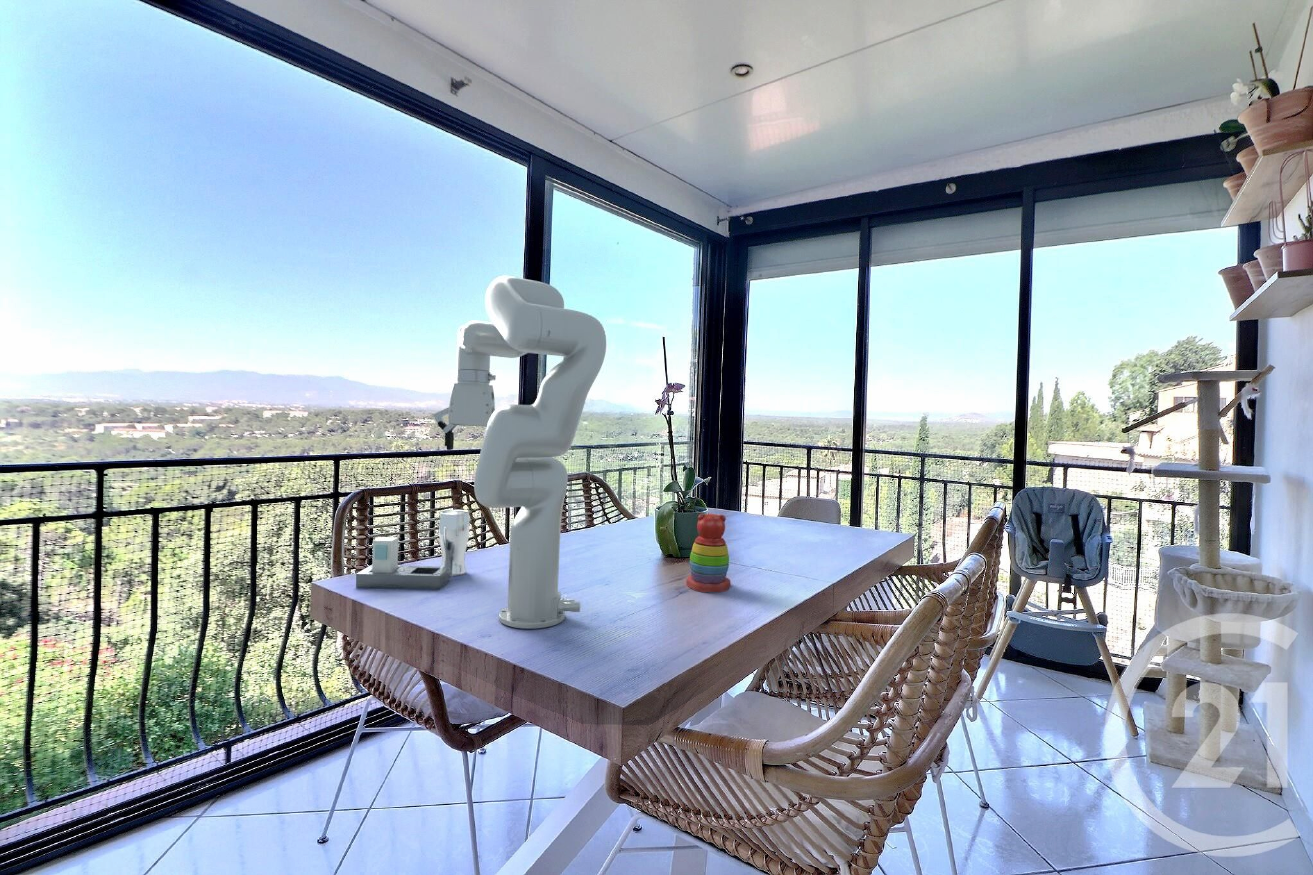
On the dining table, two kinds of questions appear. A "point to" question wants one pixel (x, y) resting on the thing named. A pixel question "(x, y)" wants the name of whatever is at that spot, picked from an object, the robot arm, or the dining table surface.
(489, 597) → the dining table surface
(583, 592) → the dining table surface
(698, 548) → the stacking bear
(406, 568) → the panel
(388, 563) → the plug
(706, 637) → the dining table surface
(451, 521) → the beer glass
